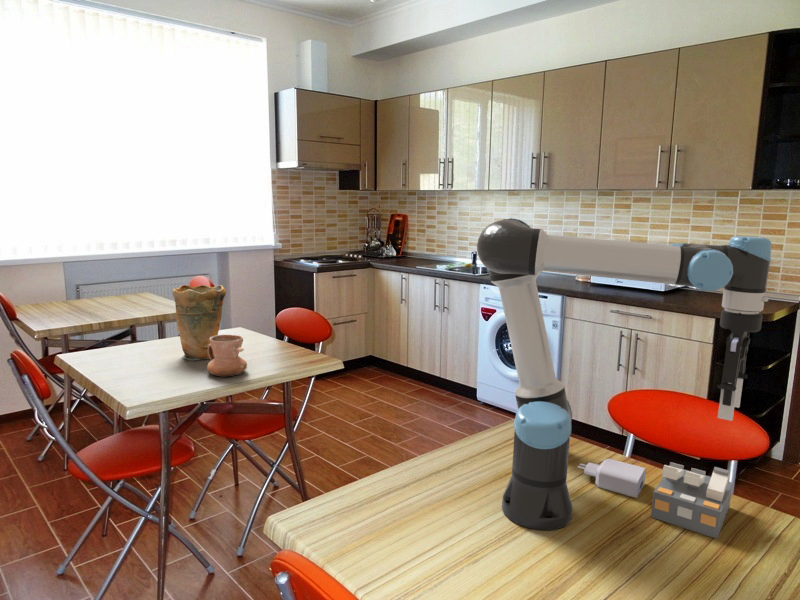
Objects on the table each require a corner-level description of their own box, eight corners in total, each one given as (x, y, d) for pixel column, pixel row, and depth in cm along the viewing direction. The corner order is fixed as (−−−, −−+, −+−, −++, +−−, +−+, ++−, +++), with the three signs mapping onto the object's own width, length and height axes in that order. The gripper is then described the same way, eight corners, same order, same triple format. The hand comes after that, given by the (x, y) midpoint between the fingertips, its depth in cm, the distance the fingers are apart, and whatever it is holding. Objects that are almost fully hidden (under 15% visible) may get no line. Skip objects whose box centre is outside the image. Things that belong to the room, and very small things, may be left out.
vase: (237, 356, 243) (235, 286, 238) (191, 366, 228) (188, 291, 223) (212, 347, 257) (209, 280, 252) (167, 355, 243) (164, 284, 237)
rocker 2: (698, 486, 124) (700, 475, 124) (683, 482, 125) (685, 471, 125) (704, 482, 130) (706, 471, 130) (689, 478, 132) (691, 467, 132)
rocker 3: (721, 501, 122) (722, 492, 121) (705, 497, 123) (706, 488, 122) (728, 479, 127) (729, 470, 126) (713, 474, 129) (714, 466, 128)
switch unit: (716, 539, 119) (720, 509, 118) (650, 517, 126) (653, 488, 125) (729, 507, 132) (733, 479, 130) (668, 489, 139) (671, 462, 138)
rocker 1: (676, 480, 126) (677, 469, 126) (661, 475, 128) (663, 465, 128) (682, 476, 133) (684, 465, 133) (668, 472, 134) (670, 461, 135)
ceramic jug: (257, 373, 222) (256, 336, 220) (228, 382, 210) (226, 343, 207) (225, 365, 231) (224, 331, 229) (195, 374, 219) (193, 337, 217)
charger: (583, 467, 150) (644, 484, 142) (572, 481, 142) (636, 500, 134) (584, 450, 149) (646, 466, 141) (573, 463, 142) (638, 481, 133)
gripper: (756, 321, 110) (741, 432, 114) (768, 305, 128) (755, 402, 131) (712, 315, 115) (699, 422, 119) (729, 301, 132) (718, 395, 136)
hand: (728, 412), depth 125 cm, fingers open, 9 cm apart
